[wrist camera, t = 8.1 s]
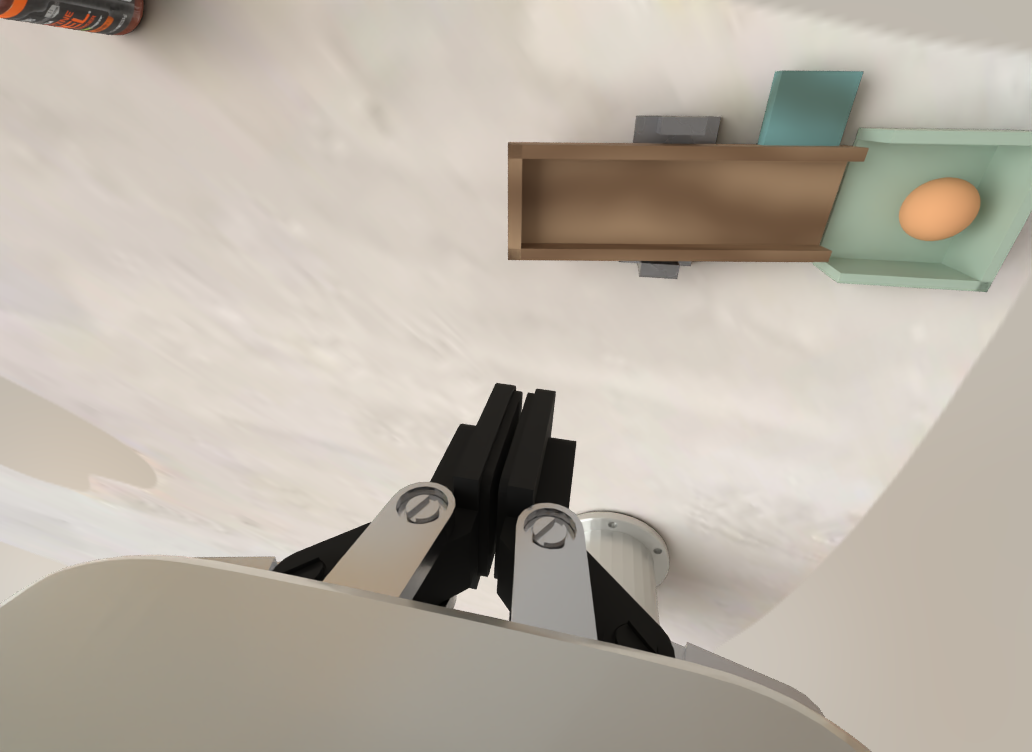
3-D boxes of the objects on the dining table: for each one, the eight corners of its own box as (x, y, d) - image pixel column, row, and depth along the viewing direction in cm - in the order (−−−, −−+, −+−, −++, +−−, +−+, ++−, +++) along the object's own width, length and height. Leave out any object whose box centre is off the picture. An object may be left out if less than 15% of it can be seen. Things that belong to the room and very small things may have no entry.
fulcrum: (689, 264, 33) (697, 280, 30) (618, 260, 33) (619, 275, 30) (719, 116, 28) (732, 117, 25) (636, 115, 29) (639, 116, 26)
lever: (808, 252, 30) (828, 262, 28) (508, 250, 30) (508, 260, 28) (868, 72, 25) (897, 69, 23) (508, 69, 25) (508, 65, 23)
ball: (883, 231, 30) (950, 237, 28) (896, 243, 27) (971, 250, 26) (906, 172, 28) (979, 175, 27) (923, 179, 25) (1005, 183, 24)
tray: (944, 271, 30) (987, 292, 27) (812, 264, 31) (837, 282, 28) (1013, 129, 26) (1074, 132, 22) (859, 127, 27) (894, 130, 24)
